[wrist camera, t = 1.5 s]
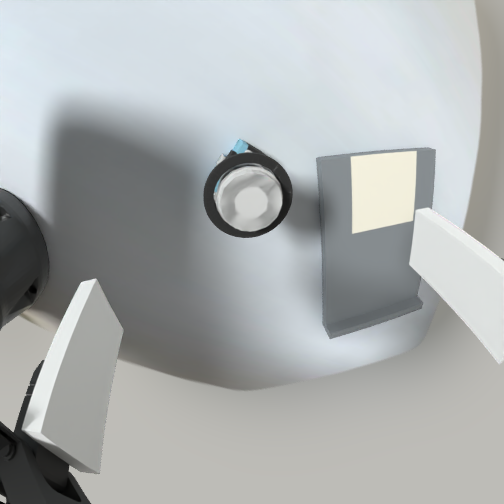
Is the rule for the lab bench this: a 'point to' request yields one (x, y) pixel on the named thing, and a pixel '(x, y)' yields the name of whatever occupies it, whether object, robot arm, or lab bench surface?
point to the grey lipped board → (371, 234)
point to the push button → (247, 192)
